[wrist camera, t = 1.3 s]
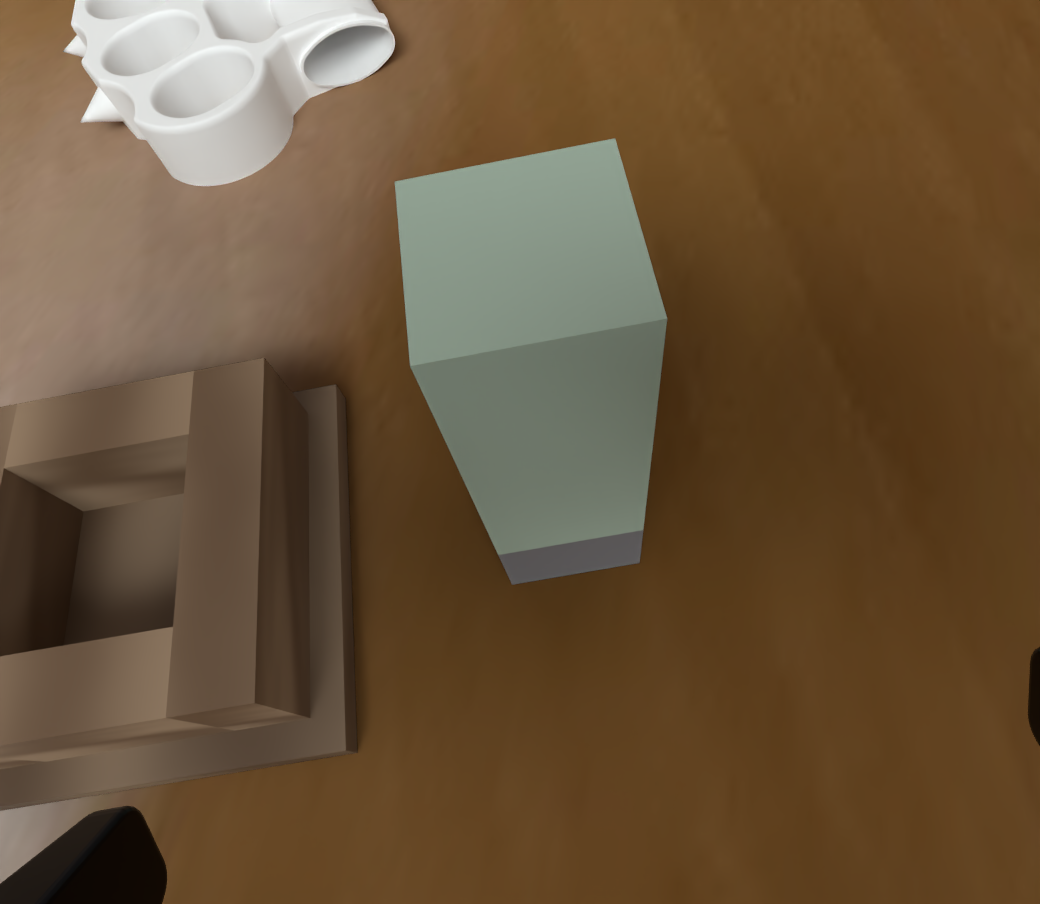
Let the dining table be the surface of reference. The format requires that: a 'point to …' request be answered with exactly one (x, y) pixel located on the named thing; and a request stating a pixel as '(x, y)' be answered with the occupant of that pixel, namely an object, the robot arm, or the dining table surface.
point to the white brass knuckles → (221, 72)
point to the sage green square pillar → (539, 350)
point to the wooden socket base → (173, 583)
